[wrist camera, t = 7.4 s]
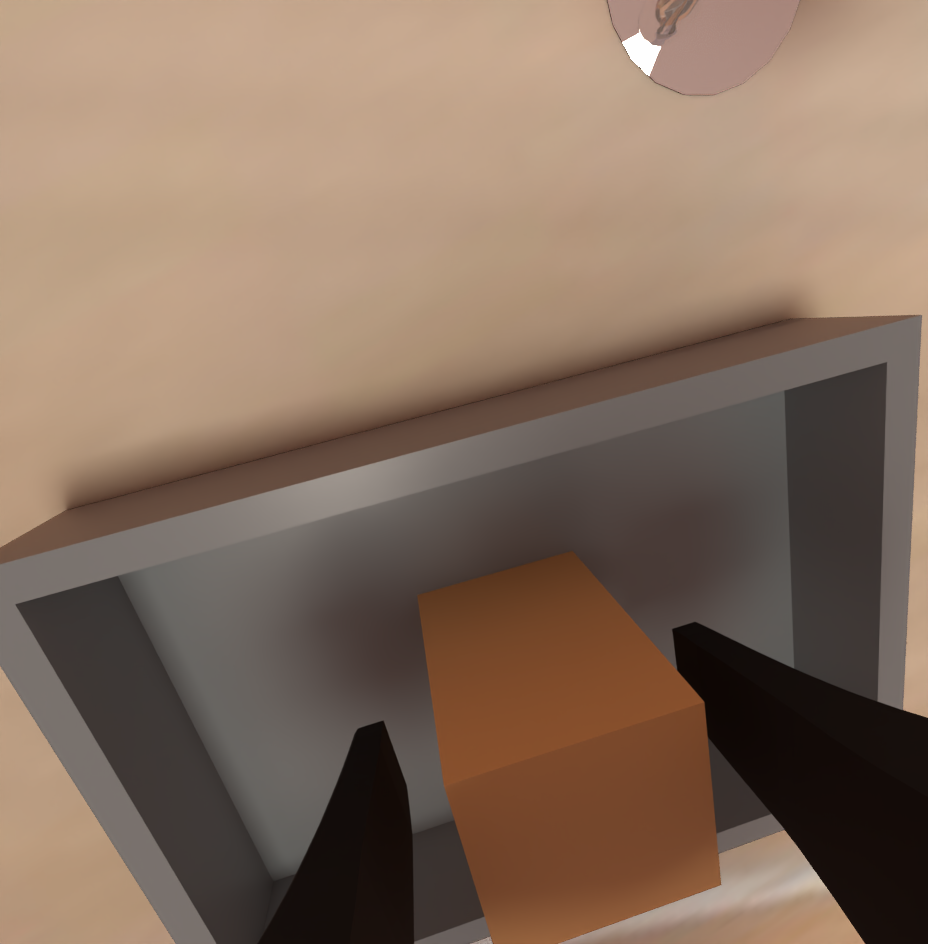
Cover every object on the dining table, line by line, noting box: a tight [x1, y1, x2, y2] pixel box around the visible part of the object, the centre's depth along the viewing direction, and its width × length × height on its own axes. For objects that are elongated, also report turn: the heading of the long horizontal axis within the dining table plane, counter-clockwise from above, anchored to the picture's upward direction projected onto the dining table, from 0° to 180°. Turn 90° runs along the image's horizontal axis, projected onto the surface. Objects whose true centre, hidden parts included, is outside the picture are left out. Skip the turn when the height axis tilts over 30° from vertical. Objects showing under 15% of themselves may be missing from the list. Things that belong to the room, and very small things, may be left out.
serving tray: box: [0, 315, 922, 944], centre depth 13 cm, size 14×20×4 cm
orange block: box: [417, 551, 721, 944], centre depth 12 cm, size 4×4×6 cm
